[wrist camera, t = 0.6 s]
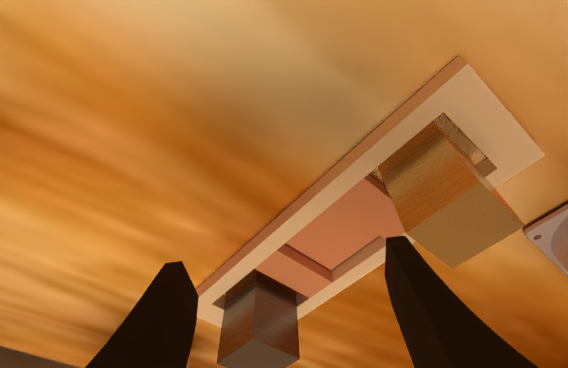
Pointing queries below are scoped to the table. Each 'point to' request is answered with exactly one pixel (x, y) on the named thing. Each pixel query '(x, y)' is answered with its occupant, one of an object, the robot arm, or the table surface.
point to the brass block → (445, 198)
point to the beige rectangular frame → (368, 197)
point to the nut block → (259, 324)
